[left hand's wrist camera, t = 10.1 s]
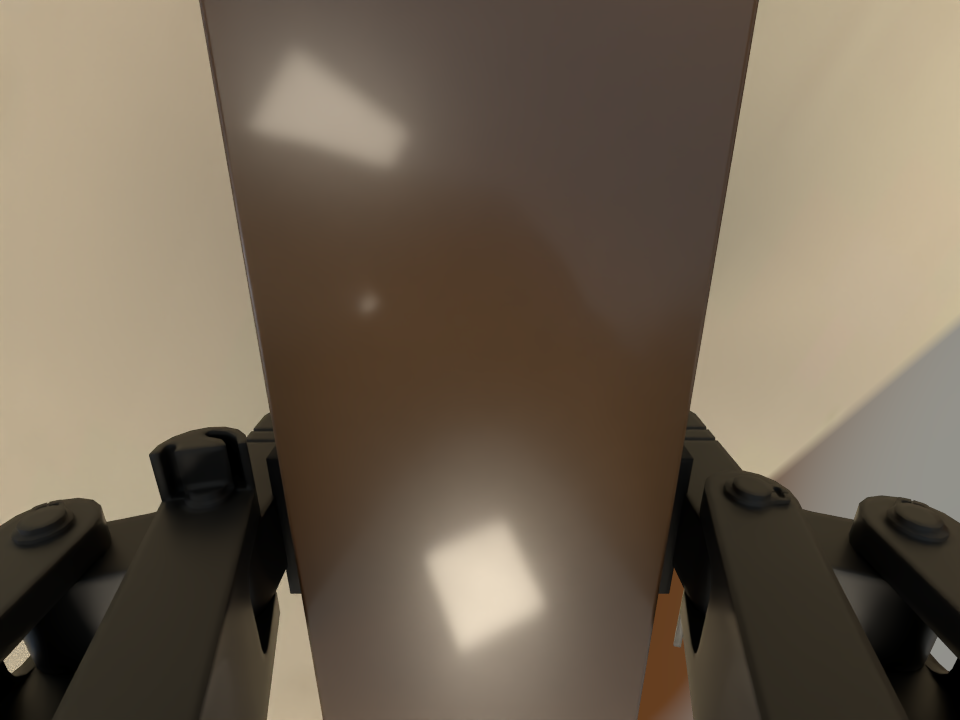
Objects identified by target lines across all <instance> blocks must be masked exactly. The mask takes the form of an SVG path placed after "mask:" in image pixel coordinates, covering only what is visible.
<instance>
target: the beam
mask: <svg viewBox="0 0 960 720" xmlns="http://www.w3.org/2000/svg"><path fill="white" fill-rule="evenodd" d="M758 2H759V0H199V3H200V8H201V14H202V20H203V26H204V32H205V37H206V43H207V49H208V55H209V61H210V67H211V72H212V78H213V84H214V90H215V96H216V101H217V107H218V113H219V119H220V125H221V130H222V136H223V142H224V148H225V154H226V159H227V165H228V171H229V177H230V183H231V188H232V194H233V200H234V206H235V212H236V217H237V223H238V229H239V235H240V241H241V246H242V252H243V258H244V264H245V270H246V275H247V281H248V287H249V293H250V299H251V304H252V310H253V316H254V322H255V328H256V333H257V339H258V345H259V351H260V357H261V362H262V368H263V374H264V380H265V386H266V391H267V397H268V403H269V409H270V415H271V420H272V426H273V432H274V438H275V444H276V449H277V455H278V461H279V467H280V473H281V478H282V484H283V490H284V496H285V502H286V507H287V513H288V519H289V525H290V531H291V536H292V542H293V548H294V554H295V560H296V565H297V571H298V577H299V583H300V589H301V594H302V600H303V606H304V612H305V618H306V623H307V629H308V635H309V641H310V647H311V652H312V658H313V664H314V670H315V676H316V681H317V687H318V693H319V699H320V705H321V710H322V716H323V720H637V717H638V711H639V705H640V700H641V694H642V688H643V682H644V676H645V670H646V664H647V658H648V652H649V646H650V640H651V634H652V629H653V623H654V617H655V611H656V605H657V599H658V593H659V587H660V581H661V575H662V569H663V564H664V558H665V552H666V546H667V540H668V534H669V528H670V522H671V516H672V510H673V504H674V498H675V493H676V487H677V481H678V475H679V469H680V463H681V457H682V451H683V445H684V439H685V433H686V428H687V422H688V416H689V410H690V404H691V398H692V392H693V386H694V380H695V374H696V368H697V362H698V357H699V351H700V345H701V339H702V333H703V327H704V321H705V315H706V309H707V303H708V297H709V291H710V286H711V280H712V274H713V268H714V262H715V256H716V250H717V244H718V238H719V232H720V226H721V221H722V215H723V209H724V203H725V197H726V191H727V185H728V179H729V173H730V167H731V161H732V155H733V150H734V144H735V138H736V132H737V126H738V120H739V114H740V108H741V102H742V96H743V90H744V84H745V79H746V73H747V67H748V61H749V55H750V49H751V43H752V37H753V31H754V25H755V19H756V14H757V8H758Z"/></svg>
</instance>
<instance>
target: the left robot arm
mask: <svg viewBox="0 0 960 720" xmlns="http://www.w3.org/2000/svg"><path fill="white" fill-rule="evenodd" d="M149 457H150V460H151V464H152V468H153V471H154V475H155V478H156V482H157V485H158V489H159V492H160V496H161V499H162V503H161V505H160V507H159V509H158V511H157V512H154V513H150V514H145V515H140V516H135V517H130V518H125V519H120V520H114V521H109V522H106V519H105V516H104V513H103V510H102V508H101V505H99V504H98V503H97V502H95V501H94V500H91V499H83V498H74V499H65V500H56V501H52V502H49V503H48V504H47V503H44V504H41V505H38V506H35V507H34V508H32V509H31V510H28V511H26V512H24V513H22V514H19V515H17V516H15V517H14V518H12V519H11V520H9V521H7V522H6V523H4V524H3V525H1V526H0V720H267V713H268V705H269V697H270V689H271V681H272V672H273V664H274V656H275V648H276V640H277V632H278V624H279V616H280V610H279V603H278V597H277V592H276V589H277V587H278V585H279V583H280V581H281V579H282V576H283V574H284V572H285V570H286V571H287V577H288V582H289V588H290V593H291V594H301V589H300V583H299V577H298V571H297V565H296V560H295V554H294V548H293V542H292V536H291V531H290V525H289V519H288V513H287V507H286V502H285V496H284V490H283V484H282V478H281V473H280V467H279V461H278V455H277V449H276V444H275V438H274V432H273V426H272V420H271V415H270V413H268V414H267V415H265V416H264V417H263V418H262V419H261V421H260V422H259V423H258V424H257V425H256V427H255V428H254V431H251V433H250V434H249V435H248V436H247V438H246V435H245V434H244V433H242V432H241V431H240V430H238V429H233V428H229V427H208V428H203V429H197V430H192V431H189V432H186V433H183V434H180V435H177V436H174V437H172V438H170V439H169V440H167V441H165V442H163V443H162V444H160V445H158V446H157V447H156V448H155V449H154V450H153V451H152V452H151V453H150V454H149ZM674 568H675V570H676V573H677V575H678V577H679V579H680V581H681V583H682V585H683V587H684V592H683V597H682V603H681V608H680V613H679V618H678V623H677V628H676V633H675V639H674V646H677V647H681V643H682V638H683V639H684V647H685V655H686V663H687V671H688V679H689V687H690V695H691V703H692V711H693V719H694V720H960V523H959V522H957V521H956V520H954V519H952V518H951V517H949V516H948V515H946V514H945V513H942V512H940V511H938V510H936V509H933V508H931V507H929V506H928V505H926V504H924V503H921V502H918V501H915V500H914V501H911V499H906V498H902V497H890V496H874V497H867V498H866V499H864V500H863V501H862V502H860V503H859V506H858V509H857V512H856V515H855V518H854V520H852V519H847V518H842V517H837V516H832V515H827V514H821V513H816V512H811V511H807V510H804V509H802V508H801V506H800V504H799V502H798V500H797V499H796V498H795V497H794V495H793V494H792V493H791V492H790V491H789V490H788V489H786V488H785V487H783V486H782V485H780V484H779V483H777V482H776V481H774V480H771V479H769V478H767V477H764V476H762V475H759V474H755V473H751V472H747V471H743V470H742V469H741V468H740V467H739V466H738V465H737V463H736V462H735V461H734V460H733V459H732V457H731V456H730V455H729V454H728V453H727V451H726V450H725V449H724V448H723V447H722V445H721V444H720V443H719V442H718V441H717V440H715V437H714V436H713V435H712V433H711V432H710V431H709V430H706V426H705V425H704V424H703V423H702V421H701V420H700V419H699V418H698V417H697V415H696V414H694V413H693V412H691V411H689V416H688V422H687V428H686V433H685V439H684V445H683V451H682V457H681V463H680V469H679V475H678V481H677V487H676V493H675V498H674V504H673V510H672V516H671V522H670V528H669V534H668V540H667V546H666V552H665V558H664V564H663V569H662V575H661V581H660V587H659V593H658V594H669V591H670V586H671V580H672V575H673V569H674ZM937 636H938V637H939V638H940V639H941V641H942V642H943V643H944V644H945V645H946V646H947V647H948V648H949V649H950V650H951V651H952V652H953V653H954V654H955V656H956V657H957V660H956V662H955V664H954V666H953V668H952V670H951V671H950V672H949V671H947V670H946V669H945V668H944V667H943V666H941V665H940V664H939V663H938V662H937V661H936V659H935V658H934V657H933V656H932V655H931V654H930V652H931V649H932V647H933V645H934V643H935V641H936V639H937ZM22 640H24V642H25V644H26V646H27V649H28V651H29V653H30V656H29V658H28V659H27V660H26V661H25V662H24V663H23V664H22V666H20V667H19V668H18V669H17V670H15V671H14V672H13V673H12V674H11V673H10V672H9V671H8V670H7V668H6V666H5V663H4V661H3V660H4V659H5V658H6V657H7V656H8V655H9V654H10V653H11V652H12V651H13V649H14V648H15V647H16V646H17V645H18V644H19V643H20V642H21V641H22Z"/></svg>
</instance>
